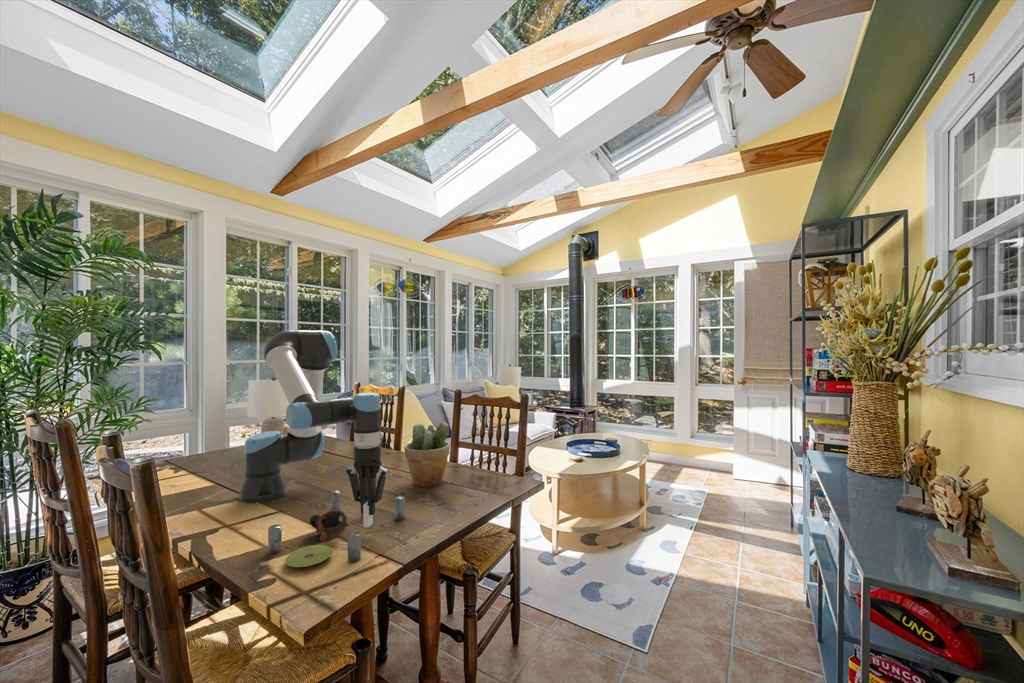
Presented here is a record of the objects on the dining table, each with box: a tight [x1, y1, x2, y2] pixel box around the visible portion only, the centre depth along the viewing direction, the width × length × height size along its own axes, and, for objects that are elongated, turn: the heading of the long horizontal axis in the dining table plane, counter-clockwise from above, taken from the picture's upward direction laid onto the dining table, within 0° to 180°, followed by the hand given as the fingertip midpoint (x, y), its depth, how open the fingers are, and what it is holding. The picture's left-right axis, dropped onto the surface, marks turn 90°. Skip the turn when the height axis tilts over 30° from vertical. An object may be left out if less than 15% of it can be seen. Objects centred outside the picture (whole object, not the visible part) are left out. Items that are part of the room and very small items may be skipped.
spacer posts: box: [267, 489, 406, 564], centre depth 125 cm, size 27×30×7 cm
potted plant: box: [403, 421, 451, 488], centre depth 169 cm, size 18×19×25 cm
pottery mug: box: [309, 509, 349, 543], centre depth 123 cm, size 12×9×8 cm
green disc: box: [284, 544, 334, 568], centre depth 109 cm, size 11×11×2 cm
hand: (368, 525), depth 123 cm, fingers closed
